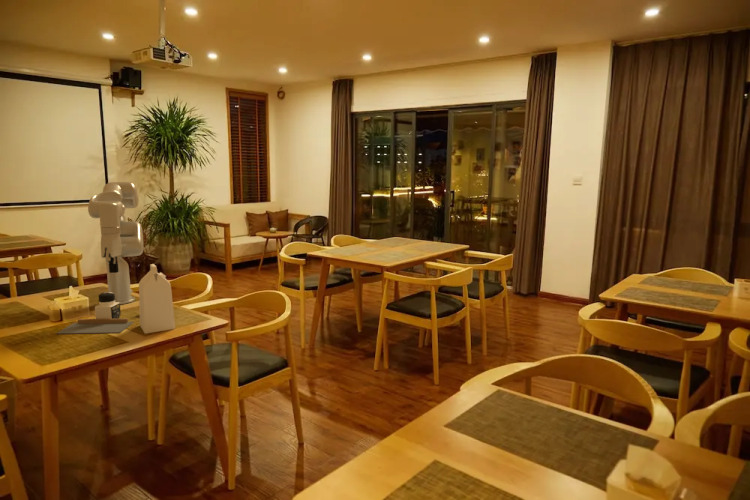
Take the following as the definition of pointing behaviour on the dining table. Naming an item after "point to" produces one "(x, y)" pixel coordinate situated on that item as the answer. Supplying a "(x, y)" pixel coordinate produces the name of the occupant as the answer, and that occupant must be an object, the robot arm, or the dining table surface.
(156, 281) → the milk
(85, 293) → the dining table surface
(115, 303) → the medicine bottle
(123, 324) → the tipping mat
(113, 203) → the robot arm
